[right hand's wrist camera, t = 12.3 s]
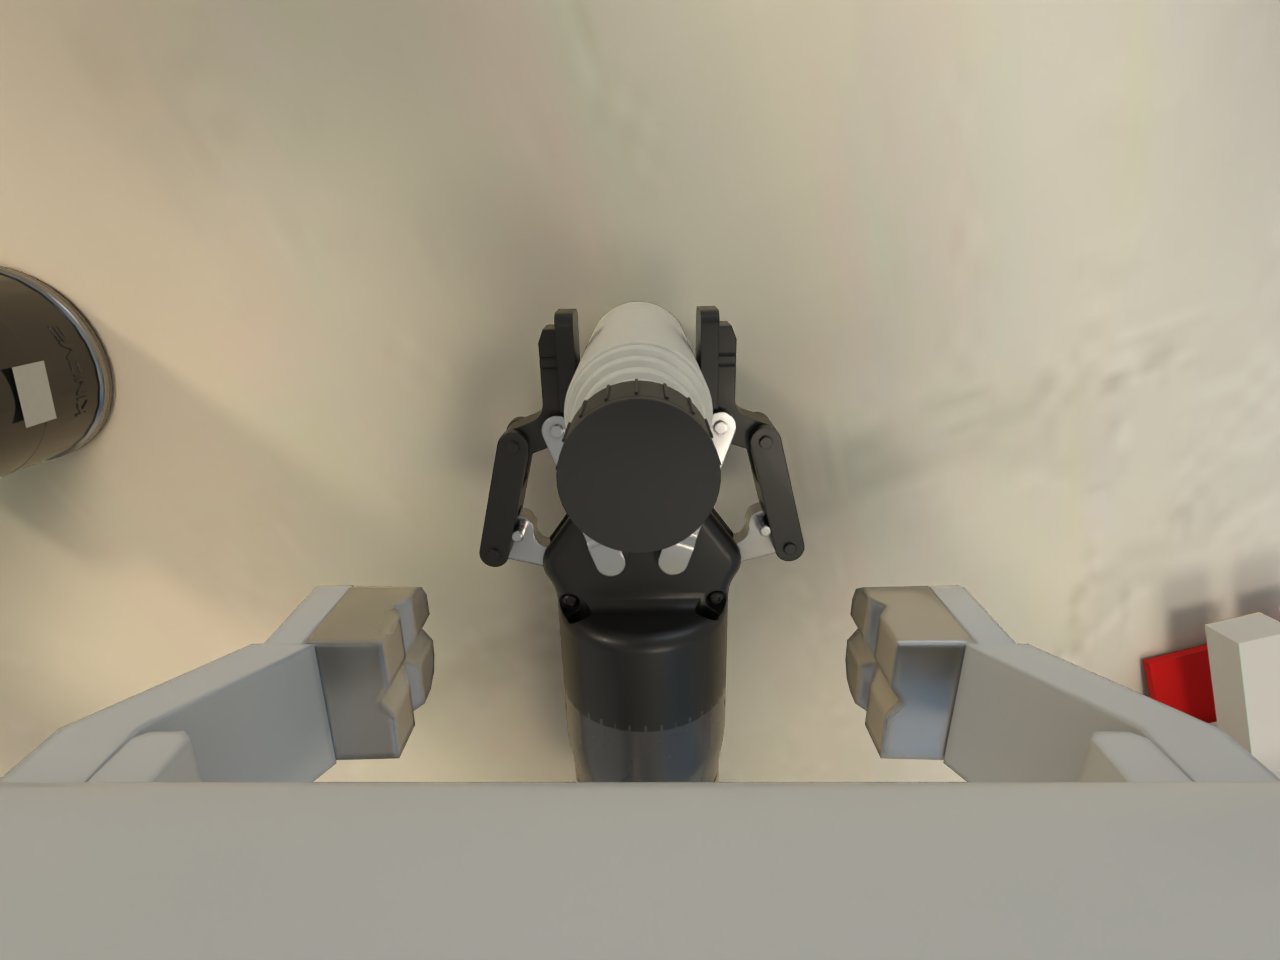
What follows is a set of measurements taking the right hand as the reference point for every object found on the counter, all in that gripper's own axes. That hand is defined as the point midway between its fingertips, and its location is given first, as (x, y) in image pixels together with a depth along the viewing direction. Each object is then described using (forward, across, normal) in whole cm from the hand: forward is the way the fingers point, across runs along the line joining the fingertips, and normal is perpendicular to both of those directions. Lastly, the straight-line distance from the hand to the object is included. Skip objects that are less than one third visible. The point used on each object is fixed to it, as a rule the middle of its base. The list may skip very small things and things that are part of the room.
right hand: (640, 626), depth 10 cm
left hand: (+18, 0, -3) cm, 18 cm away
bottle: (+24, 0, 0) cm, 24 cm away
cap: (+7, 0, 0) cm, 7 cm away
